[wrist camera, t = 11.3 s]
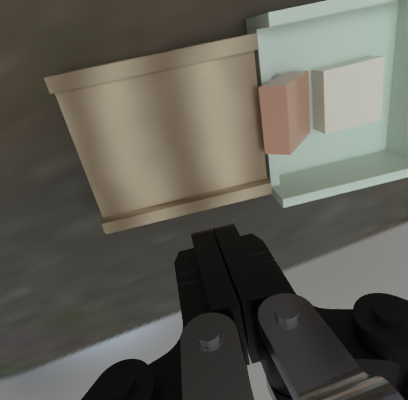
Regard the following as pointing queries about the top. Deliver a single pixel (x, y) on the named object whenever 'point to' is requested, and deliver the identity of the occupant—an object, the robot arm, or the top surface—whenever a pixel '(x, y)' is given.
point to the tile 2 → (347, 94)
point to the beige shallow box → (168, 131)
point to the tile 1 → (285, 112)
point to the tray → (302, 61)
